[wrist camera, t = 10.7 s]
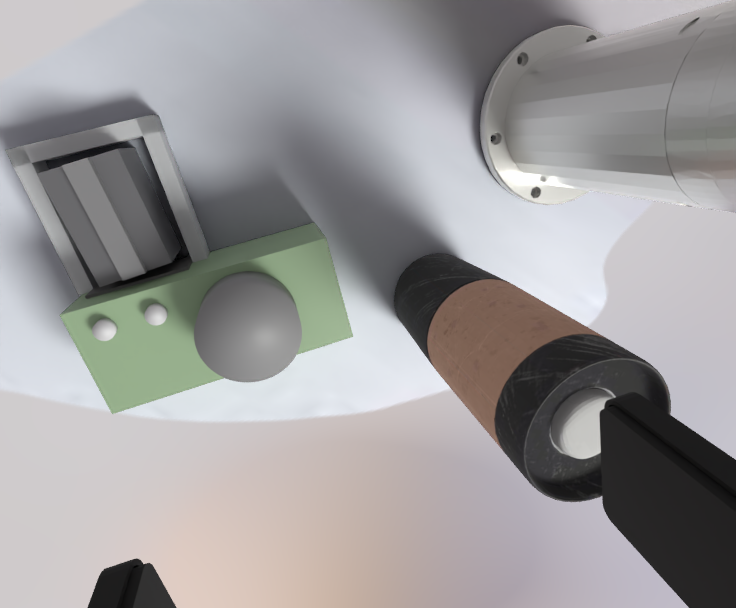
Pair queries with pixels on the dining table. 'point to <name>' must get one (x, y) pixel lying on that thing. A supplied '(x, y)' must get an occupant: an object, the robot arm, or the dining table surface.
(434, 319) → the travel mug
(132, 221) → the ridged grey block
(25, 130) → the dining table surface
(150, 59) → the dining table surface
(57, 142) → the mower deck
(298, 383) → the dining table surface
